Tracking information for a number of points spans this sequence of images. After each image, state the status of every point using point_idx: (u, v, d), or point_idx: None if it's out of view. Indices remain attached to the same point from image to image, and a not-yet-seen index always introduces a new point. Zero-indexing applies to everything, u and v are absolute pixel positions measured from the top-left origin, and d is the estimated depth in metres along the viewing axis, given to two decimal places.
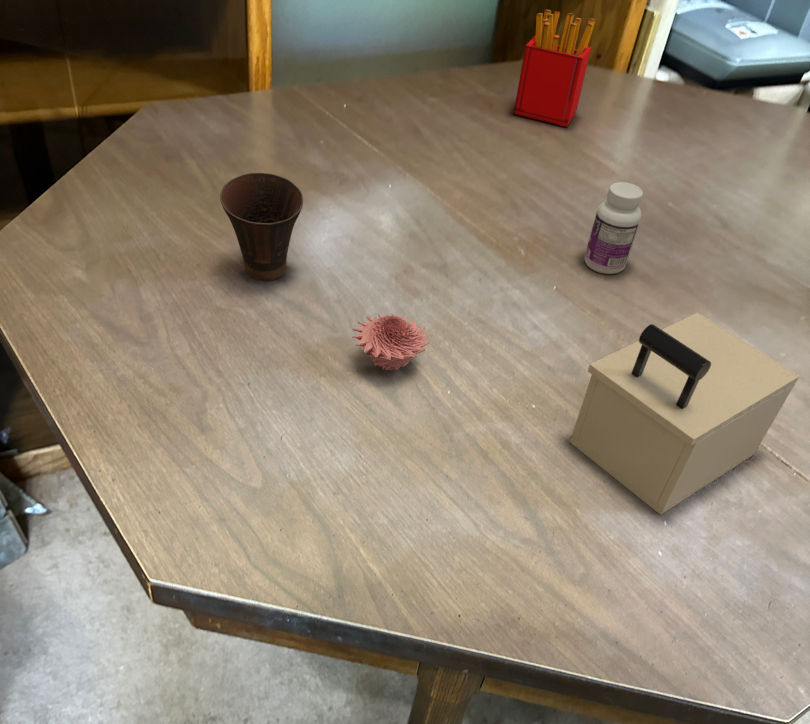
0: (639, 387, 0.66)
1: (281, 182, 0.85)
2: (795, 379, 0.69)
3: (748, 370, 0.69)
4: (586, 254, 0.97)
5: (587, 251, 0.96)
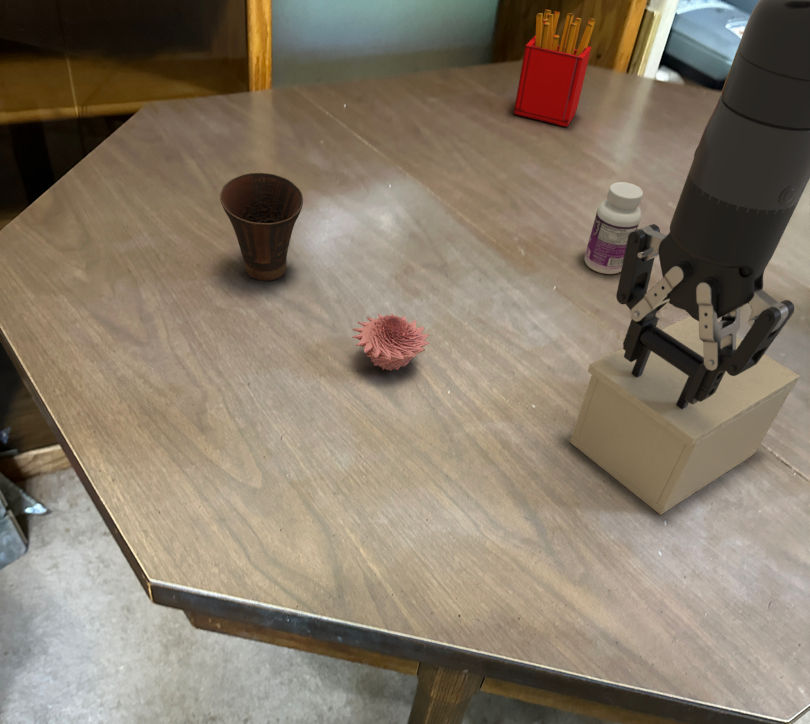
0: (639, 387, 0.66)
1: (281, 182, 0.85)
2: (795, 379, 0.69)
3: (748, 370, 0.69)
4: (586, 254, 0.97)
5: (587, 251, 0.96)
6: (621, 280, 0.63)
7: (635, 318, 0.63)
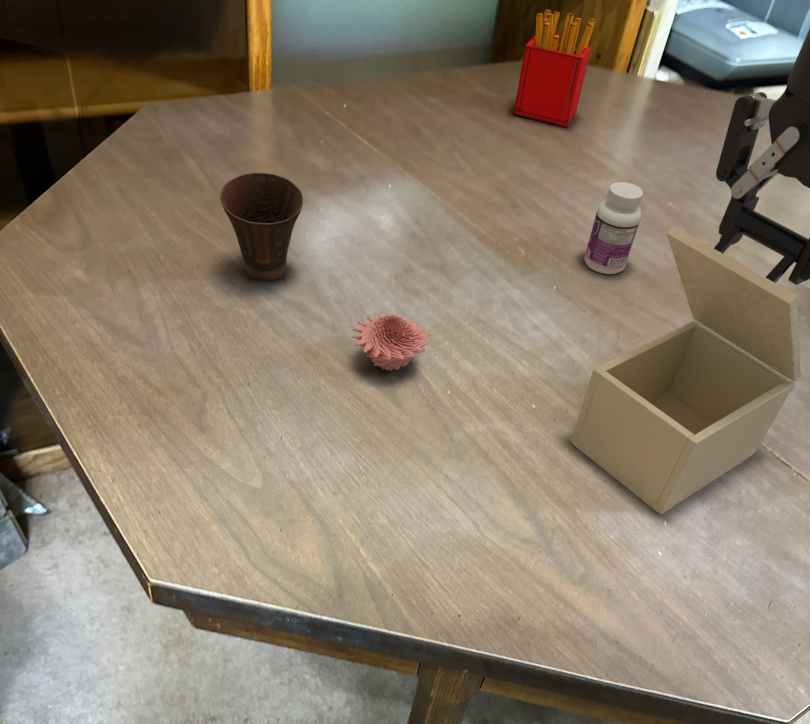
0: None
1: (281, 182, 0.85)
2: (799, 374, 0.69)
3: None
4: (586, 254, 0.97)
5: (587, 251, 0.96)
6: (723, 154, 0.60)
7: (736, 195, 0.60)
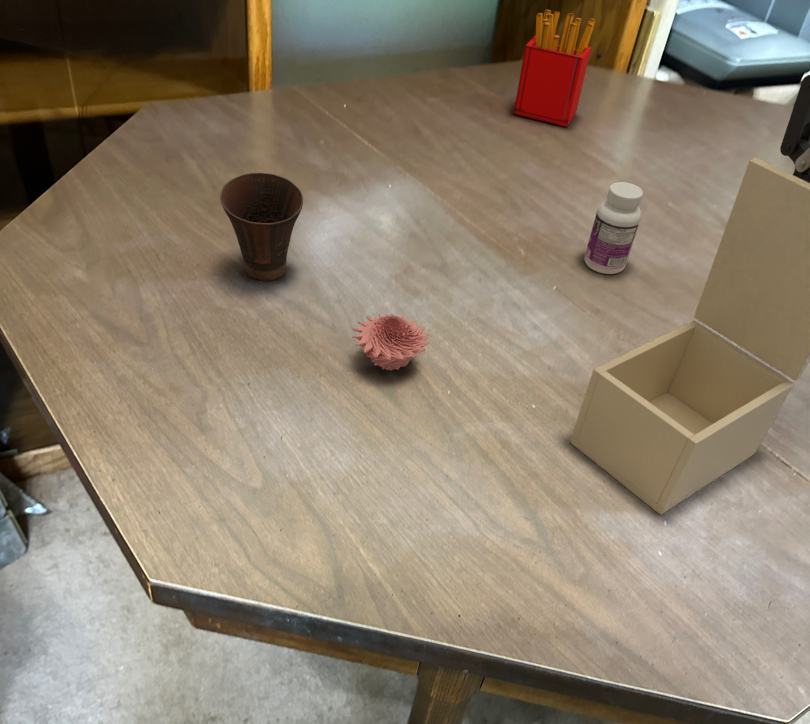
0: None
1: (281, 182, 0.85)
2: (802, 373, 0.69)
3: None
4: (586, 254, 0.97)
5: (587, 251, 0.96)
6: (788, 130, 0.64)
7: (800, 168, 0.64)
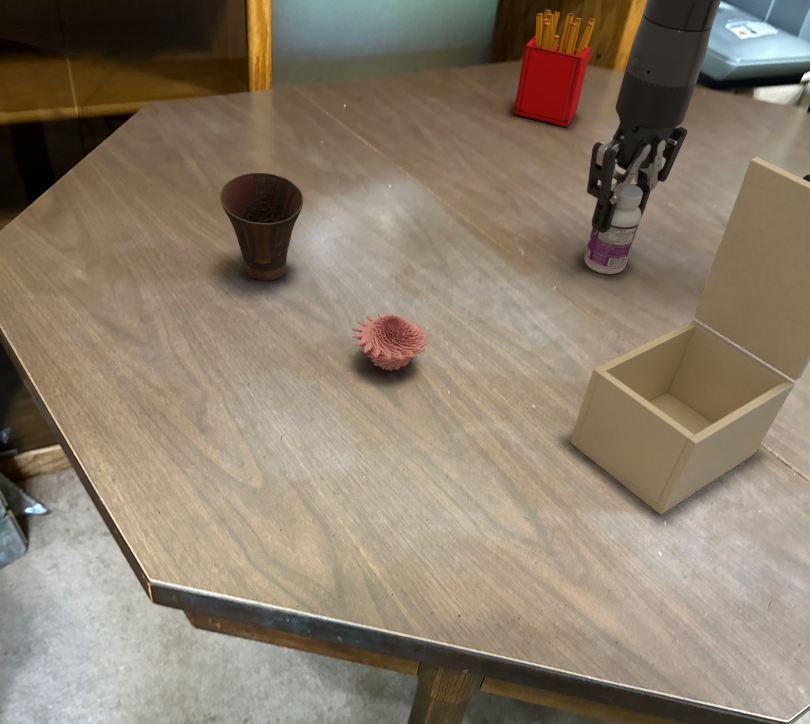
0: None
1: (281, 182, 0.85)
2: (802, 373, 0.69)
3: None
4: (586, 254, 0.97)
5: (587, 251, 0.96)
6: None
7: None
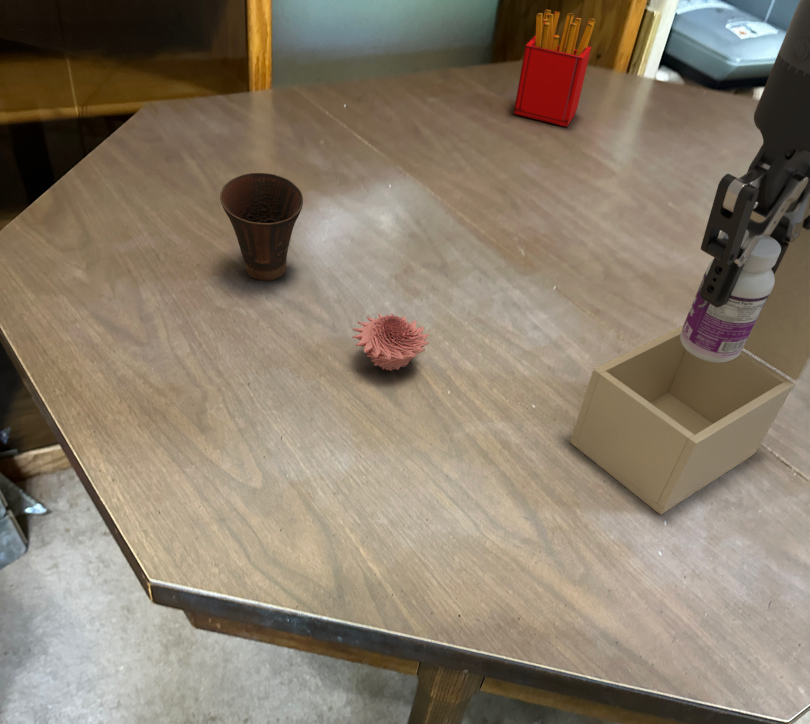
0: None
1: (281, 182, 0.85)
2: (802, 373, 0.69)
3: None
4: (684, 333, 0.66)
5: (686, 329, 0.65)
6: None
7: None
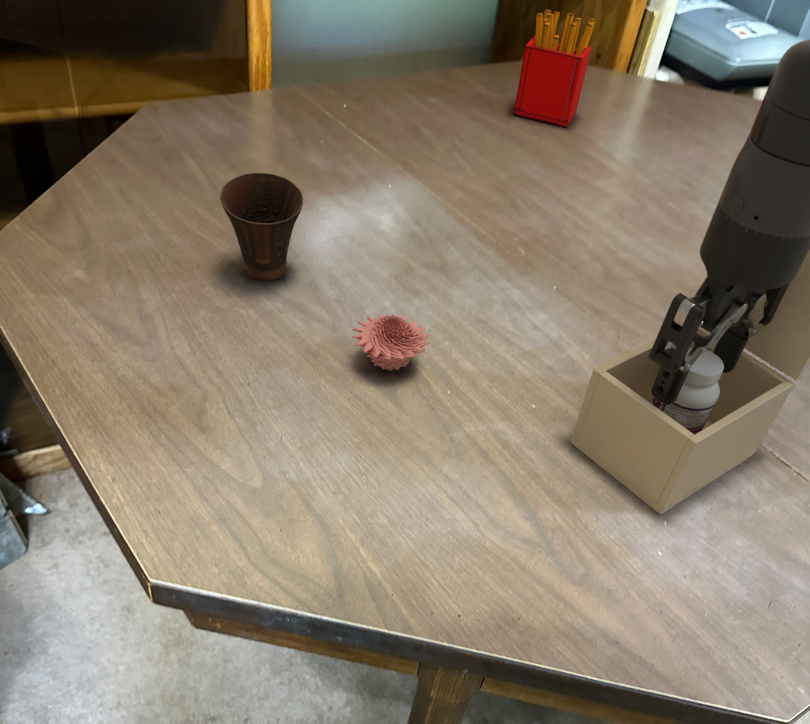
0: None
1: (281, 182, 0.85)
2: (802, 373, 0.69)
3: None
4: None
5: None
6: None
7: None
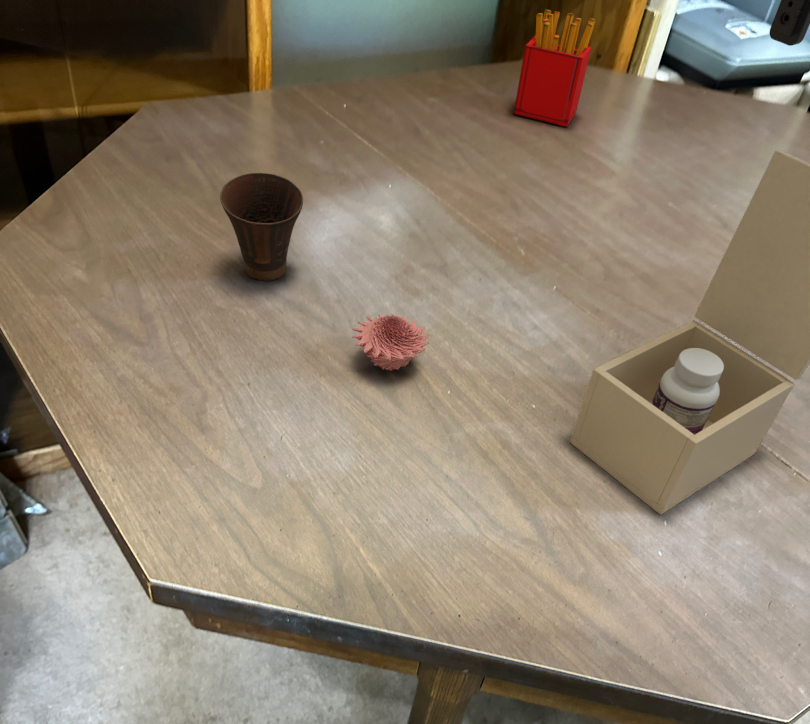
0: None
1: (281, 182, 0.85)
2: (802, 373, 0.69)
3: None
4: None
5: None
6: None
7: None
